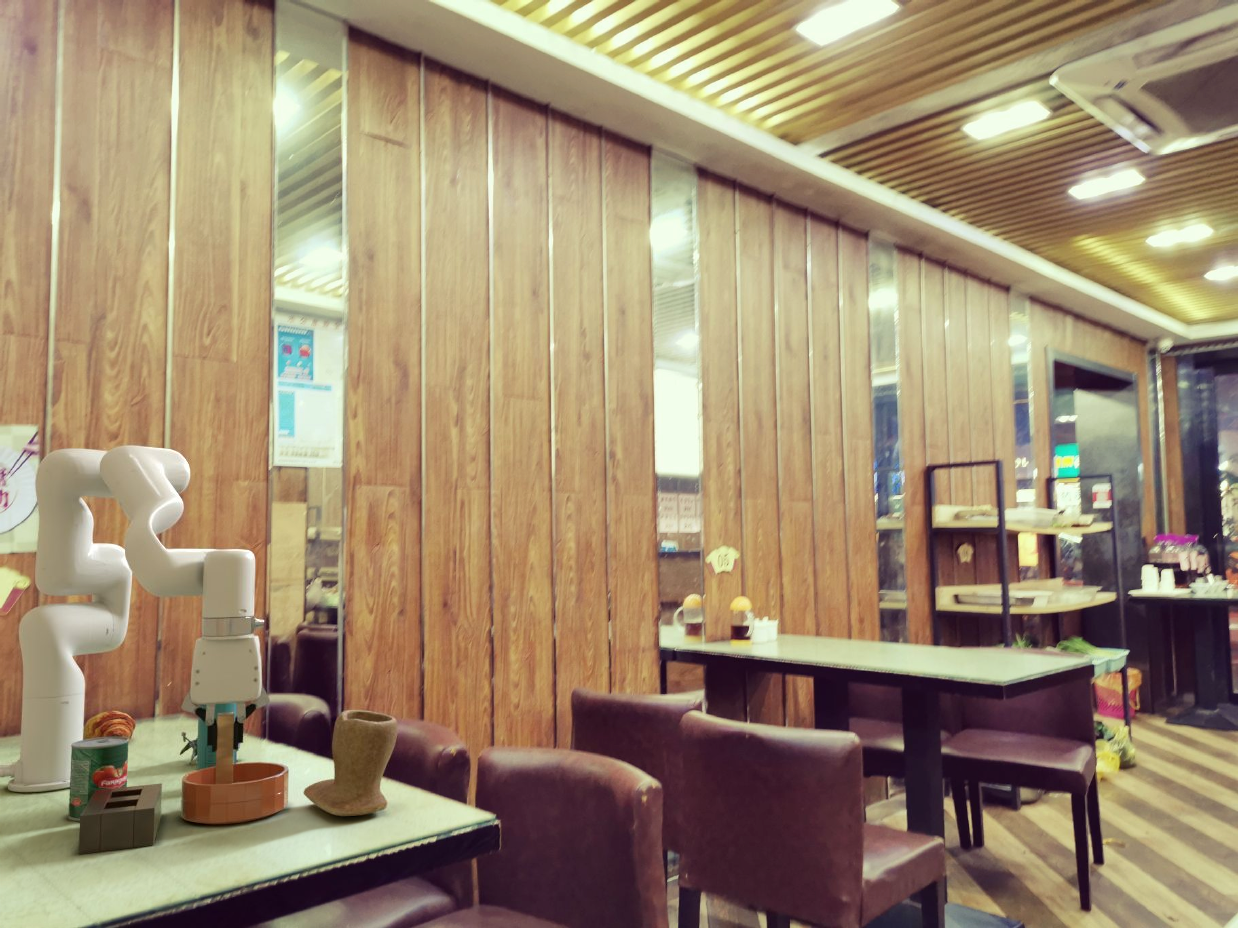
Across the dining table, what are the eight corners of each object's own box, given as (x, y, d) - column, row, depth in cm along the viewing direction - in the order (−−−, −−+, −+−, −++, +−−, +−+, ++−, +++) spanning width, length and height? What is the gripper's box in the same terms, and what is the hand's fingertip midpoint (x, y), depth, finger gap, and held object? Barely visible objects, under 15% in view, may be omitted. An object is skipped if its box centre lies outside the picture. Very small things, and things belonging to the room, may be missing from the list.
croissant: (82, 751, 208) (64, 721, 206) (127, 725, 214) (110, 695, 212) (105, 764, 192) (86, 732, 190) (152, 735, 198) (134, 703, 196)
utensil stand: (78, 854, 124) (79, 815, 124) (93, 824, 138) (95, 789, 138) (153, 845, 127) (154, 807, 128) (160, 816, 141) (162, 783, 142)
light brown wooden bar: (215, 802, 140) (217, 715, 142) (215, 799, 142) (217, 713, 144) (232, 800, 141) (234, 714, 142) (232, 797, 143) (234, 711, 145)
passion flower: (232, 789, 179) (247, 743, 175) (171, 785, 174) (185, 738, 170) (234, 747, 189) (249, 702, 184) (177, 742, 184) (190, 696, 180)
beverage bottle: (221, 792, 155) (224, 671, 157) (186, 791, 157) (189, 671, 159) (244, 783, 162) (246, 667, 164) (210, 782, 163) (213, 667, 165)
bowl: (178, 832, 133) (179, 789, 134) (183, 806, 147) (184, 767, 147) (290, 819, 139) (291, 778, 139) (284, 795, 153) (285, 758, 153)
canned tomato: (115, 819, 140) (118, 745, 141) (59, 822, 139) (62, 747, 140) (133, 805, 148) (136, 735, 149) (80, 808, 147) (83, 737, 148)
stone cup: (407, 813, 141) (408, 712, 142) (329, 826, 134) (331, 721, 136) (374, 793, 154) (375, 701, 155) (301, 804, 147) (303, 708, 148)
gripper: (281, 624, 151) (279, 740, 149) (172, 629, 145) (168, 749, 143) (284, 627, 144) (281, 748, 142) (169, 632, 138) (165, 759, 136)
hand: (225, 748), depth 143 cm, fingers closed on light brown wooden bar, 2 cm apart
